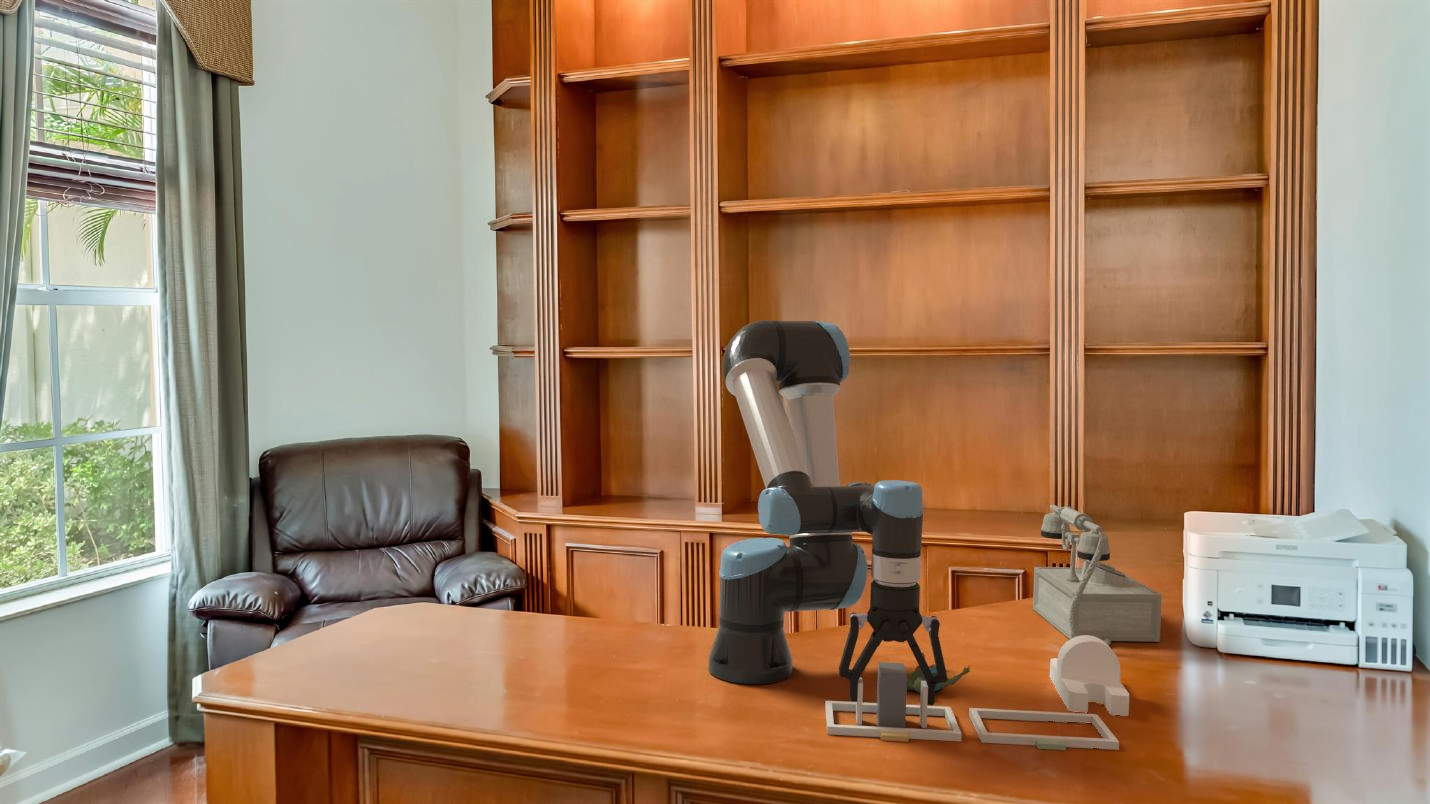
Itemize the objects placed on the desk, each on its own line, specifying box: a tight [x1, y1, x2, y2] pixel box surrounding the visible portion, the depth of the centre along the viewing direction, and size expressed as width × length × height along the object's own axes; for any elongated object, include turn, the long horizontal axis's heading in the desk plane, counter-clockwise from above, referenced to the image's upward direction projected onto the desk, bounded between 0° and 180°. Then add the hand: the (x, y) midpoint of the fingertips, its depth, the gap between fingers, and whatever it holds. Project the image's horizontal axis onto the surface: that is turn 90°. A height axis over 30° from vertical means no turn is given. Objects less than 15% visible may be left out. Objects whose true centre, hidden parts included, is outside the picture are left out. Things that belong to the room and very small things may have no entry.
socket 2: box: [968, 707, 1120, 751], centre depth 154 cm, size 20×12×1 cm, turn 85°
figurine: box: [907, 652, 971, 694], centre depth 176 cm, size 16×4×18 cm
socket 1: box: [824, 700, 962, 742], centre depth 156 cm, size 20×12×1 cm, turn 85°
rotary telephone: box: [1032, 504, 1163, 647], centre depth 211 cm, size 32×20×25 cm, turn 1°
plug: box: [875, 661, 908, 728], centre depth 157 cm, size 4×6×9 cm
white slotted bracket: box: [1049, 635, 1130, 717], centre depth 171 cm, size 10×18×10 cm, turn 171°
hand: (890, 723), depth 156 cm, fingers open, 9 cm apart
